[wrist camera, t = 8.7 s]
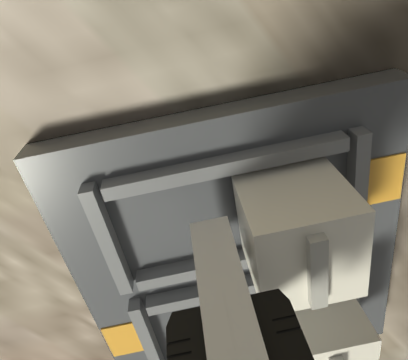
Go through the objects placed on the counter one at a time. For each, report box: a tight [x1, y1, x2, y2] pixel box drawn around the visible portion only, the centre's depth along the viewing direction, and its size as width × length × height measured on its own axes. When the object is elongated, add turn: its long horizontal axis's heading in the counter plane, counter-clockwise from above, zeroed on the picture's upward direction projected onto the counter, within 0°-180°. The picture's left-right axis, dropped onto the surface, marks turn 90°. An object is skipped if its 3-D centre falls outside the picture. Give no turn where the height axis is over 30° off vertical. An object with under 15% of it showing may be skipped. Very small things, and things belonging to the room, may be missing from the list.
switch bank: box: [13, 68, 408, 360], centre depth 18 cm, size 16×16×2 cm
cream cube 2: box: [295, 299, 382, 360], centre depth 17 cm, size 4×4×4 cm
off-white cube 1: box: [231, 157, 376, 311], centre depth 14 cm, size 4×4×4 cm
